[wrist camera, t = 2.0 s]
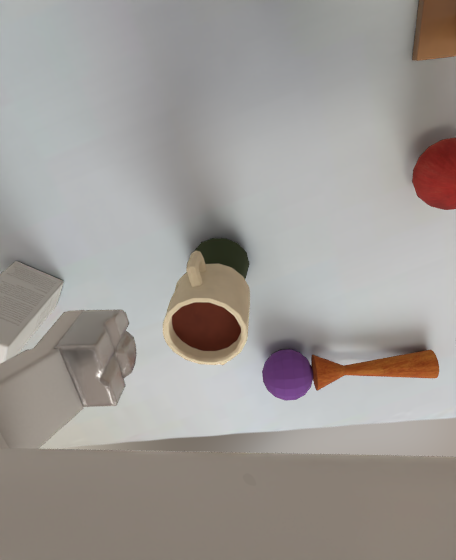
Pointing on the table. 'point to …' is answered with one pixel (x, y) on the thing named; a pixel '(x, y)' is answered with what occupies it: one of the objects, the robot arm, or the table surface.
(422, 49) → the rail
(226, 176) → the table surface
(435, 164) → the onion
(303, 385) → the kendama
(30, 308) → the cosmetic box
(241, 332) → the character mug
